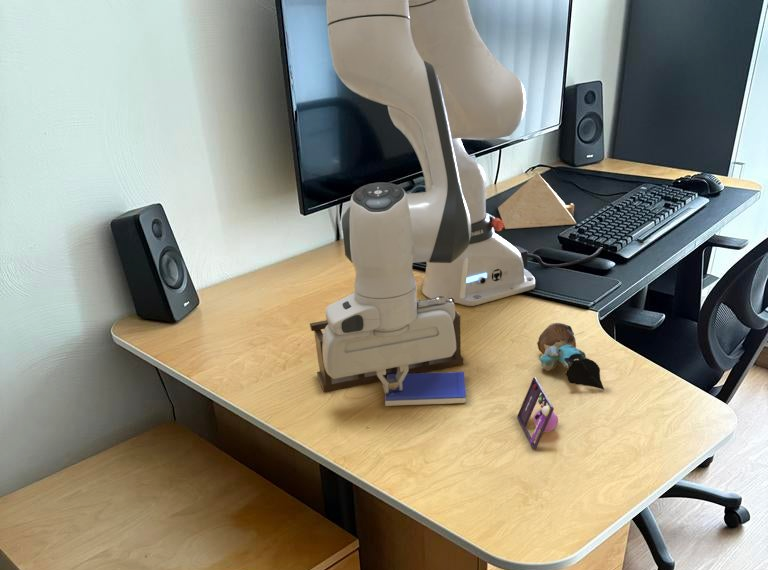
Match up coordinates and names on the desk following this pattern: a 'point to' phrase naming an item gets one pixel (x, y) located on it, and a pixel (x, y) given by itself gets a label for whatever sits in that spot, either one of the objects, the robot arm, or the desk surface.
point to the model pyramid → (535, 207)
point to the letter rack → (370, 377)
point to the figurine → (567, 356)
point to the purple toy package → (543, 418)
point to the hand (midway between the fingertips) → (392, 390)
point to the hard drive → (429, 389)
